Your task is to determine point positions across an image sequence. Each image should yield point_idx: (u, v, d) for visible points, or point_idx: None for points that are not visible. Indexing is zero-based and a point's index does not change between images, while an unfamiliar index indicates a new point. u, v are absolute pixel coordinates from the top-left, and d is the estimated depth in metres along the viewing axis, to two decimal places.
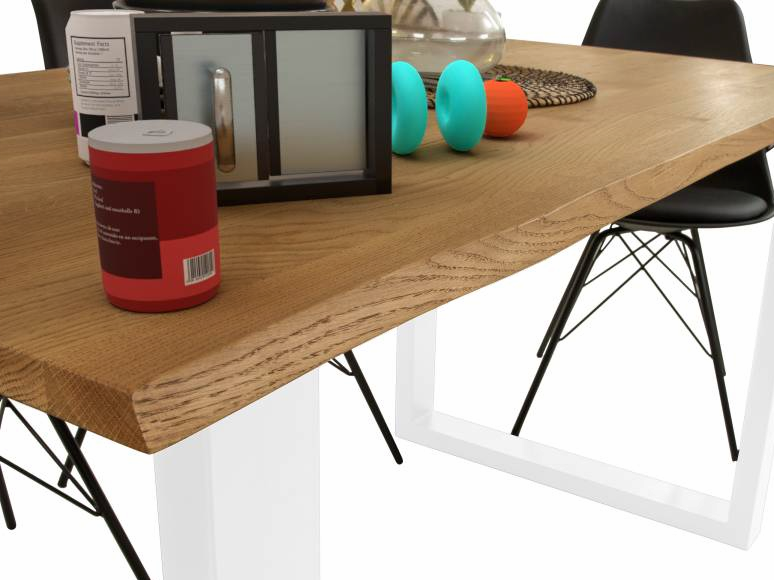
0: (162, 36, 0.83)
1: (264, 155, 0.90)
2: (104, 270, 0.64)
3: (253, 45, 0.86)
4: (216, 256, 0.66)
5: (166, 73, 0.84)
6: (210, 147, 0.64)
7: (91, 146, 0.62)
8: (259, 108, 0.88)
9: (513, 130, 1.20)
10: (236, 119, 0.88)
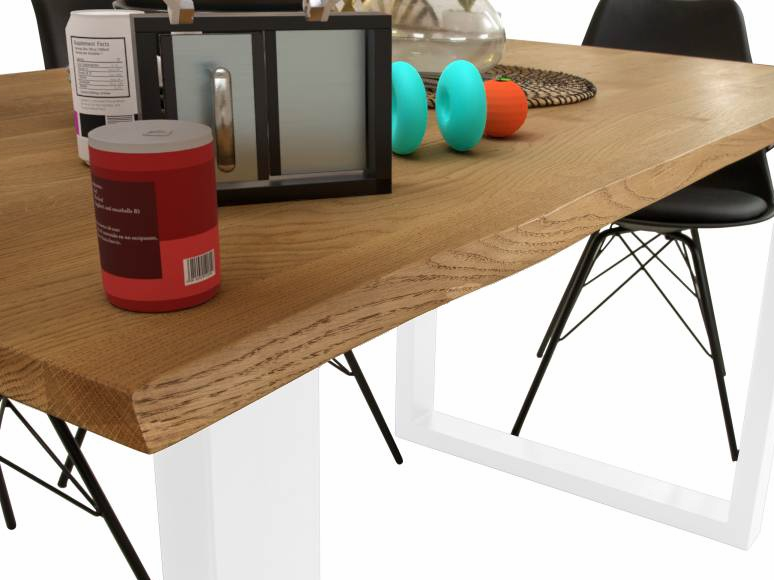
0: (162, 36, 0.83)
1: (264, 155, 0.90)
2: (104, 270, 0.64)
3: (253, 45, 0.86)
4: (216, 256, 0.66)
5: (166, 73, 0.84)
6: (210, 147, 0.64)
7: (91, 146, 0.62)
8: (259, 108, 0.88)
9: (513, 130, 1.20)
10: (236, 119, 0.88)
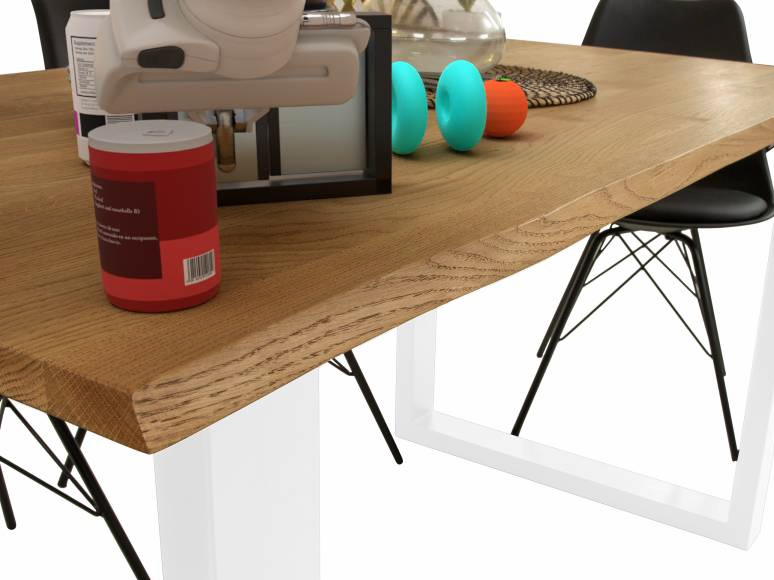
0: None
1: (265, 155, 0.90)
2: (104, 270, 0.64)
3: None
4: (216, 256, 0.66)
5: None
6: (210, 147, 0.64)
7: (91, 146, 0.62)
8: None
9: (513, 130, 1.20)
10: None
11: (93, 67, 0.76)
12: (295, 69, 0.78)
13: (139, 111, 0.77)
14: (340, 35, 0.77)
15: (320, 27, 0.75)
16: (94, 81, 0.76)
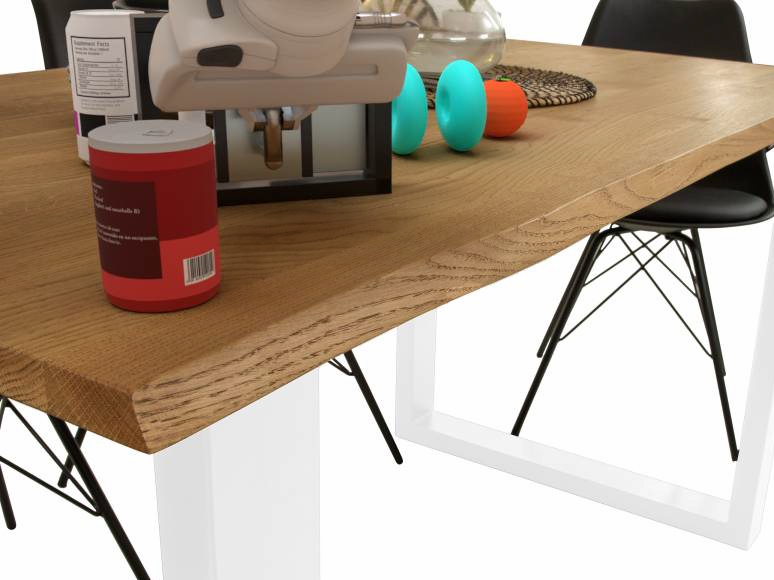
0: None
1: (309, 152, 0.91)
2: (104, 270, 0.64)
3: None
4: (216, 256, 0.66)
5: None
6: (210, 147, 0.64)
7: (91, 146, 0.62)
8: None
9: (513, 130, 1.20)
10: None
11: (148, 66, 0.78)
12: (346, 67, 0.79)
13: (193, 109, 0.79)
14: (390, 34, 0.78)
15: (372, 26, 0.77)
16: (149, 79, 0.78)
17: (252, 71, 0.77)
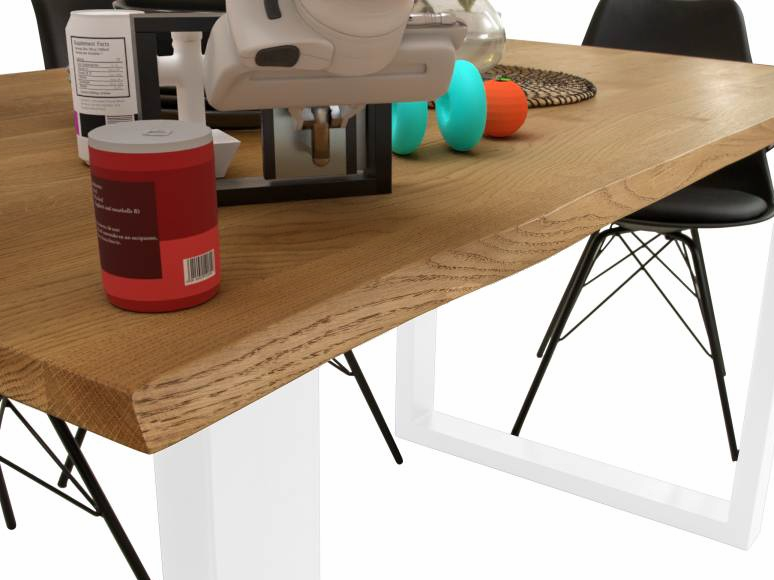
0: None
1: (353, 149, 0.92)
2: (104, 270, 0.64)
3: None
4: (216, 256, 0.66)
5: None
6: (210, 147, 0.64)
7: (91, 146, 0.62)
8: None
9: (513, 130, 1.20)
10: None
11: (203, 66, 0.79)
12: (396, 66, 0.80)
13: (246, 108, 0.80)
14: (439, 34, 0.80)
15: (422, 26, 0.78)
16: (204, 79, 0.79)
17: (305, 71, 0.78)
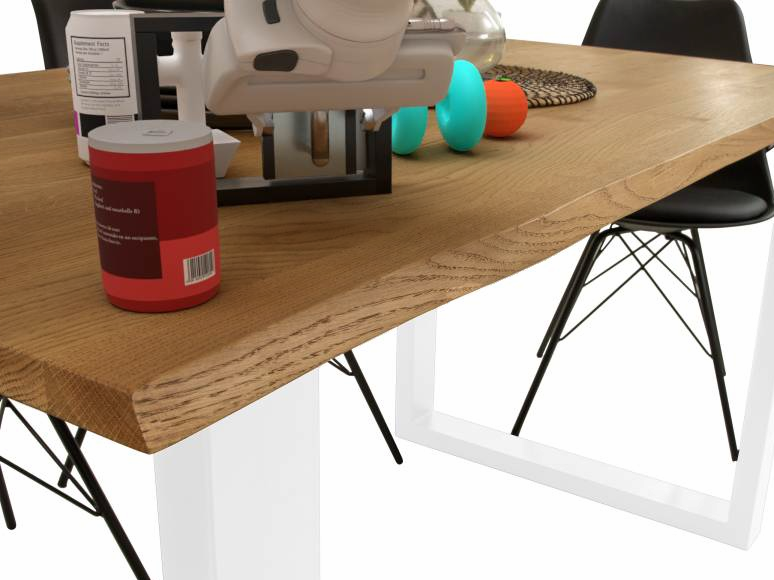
0: None
1: (353, 149, 0.92)
2: (104, 270, 0.64)
3: None
4: (216, 256, 0.66)
5: None
6: (210, 147, 0.64)
7: (91, 146, 0.62)
8: None
9: (513, 130, 1.20)
10: None
11: (201, 70, 0.79)
12: (394, 71, 0.80)
13: (244, 112, 0.80)
14: (438, 39, 0.80)
15: (421, 31, 0.78)
16: (201, 83, 0.79)
17: (303, 75, 0.78)
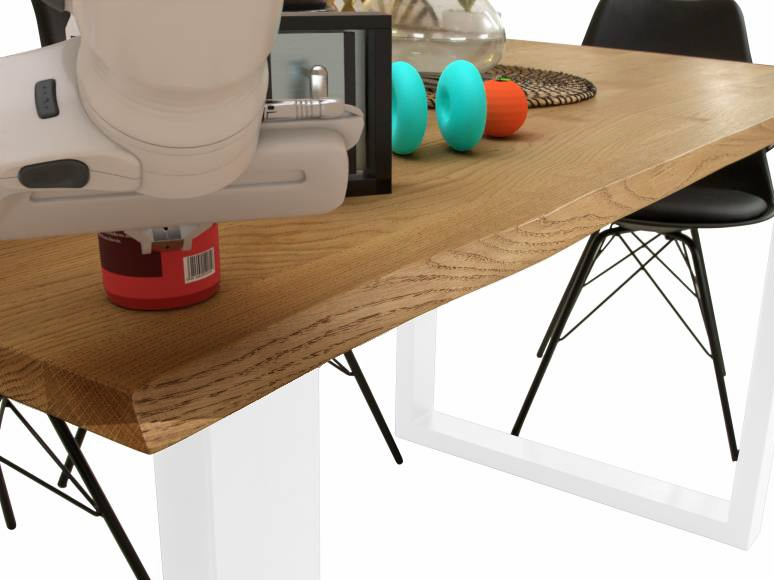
0: None
1: (353, 149, 0.92)
2: (104, 268, 0.65)
3: (345, 43, 0.89)
4: (216, 254, 0.67)
5: None
6: None
7: None
8: (349, 104, 0.91)
9: (513, 130, 1.20)
10: None
11: None
12: (258, 174, 0.55)
13: (38, 235, 0.55)
14: (321, 128, 0.55)
15: (292, 119, 0.53)
16: None
17: None
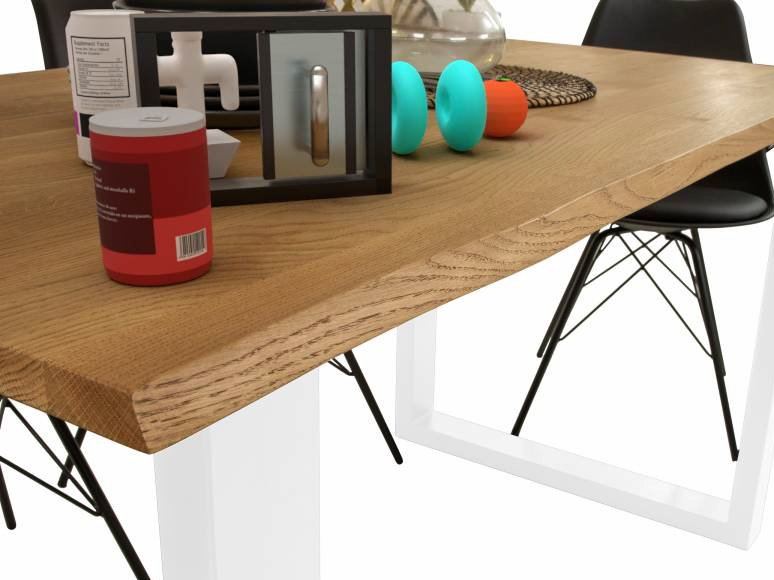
0: (260, 34, 0.86)
1: (353, 149, 0.92)
2: (103, 246, 0.69)
3: (345, 43, 0.89)
4: (208, 235, 0.71)
5: (263, 70, 0.87)
6: (202, 132, 0.69)
7: (91, 130, 0.67)
8: (349, 104, 0.91)
9: (513, 130, 1.20)
10: None
11: None
12: None
13: None
14: None
15: None
16: None
17: None
